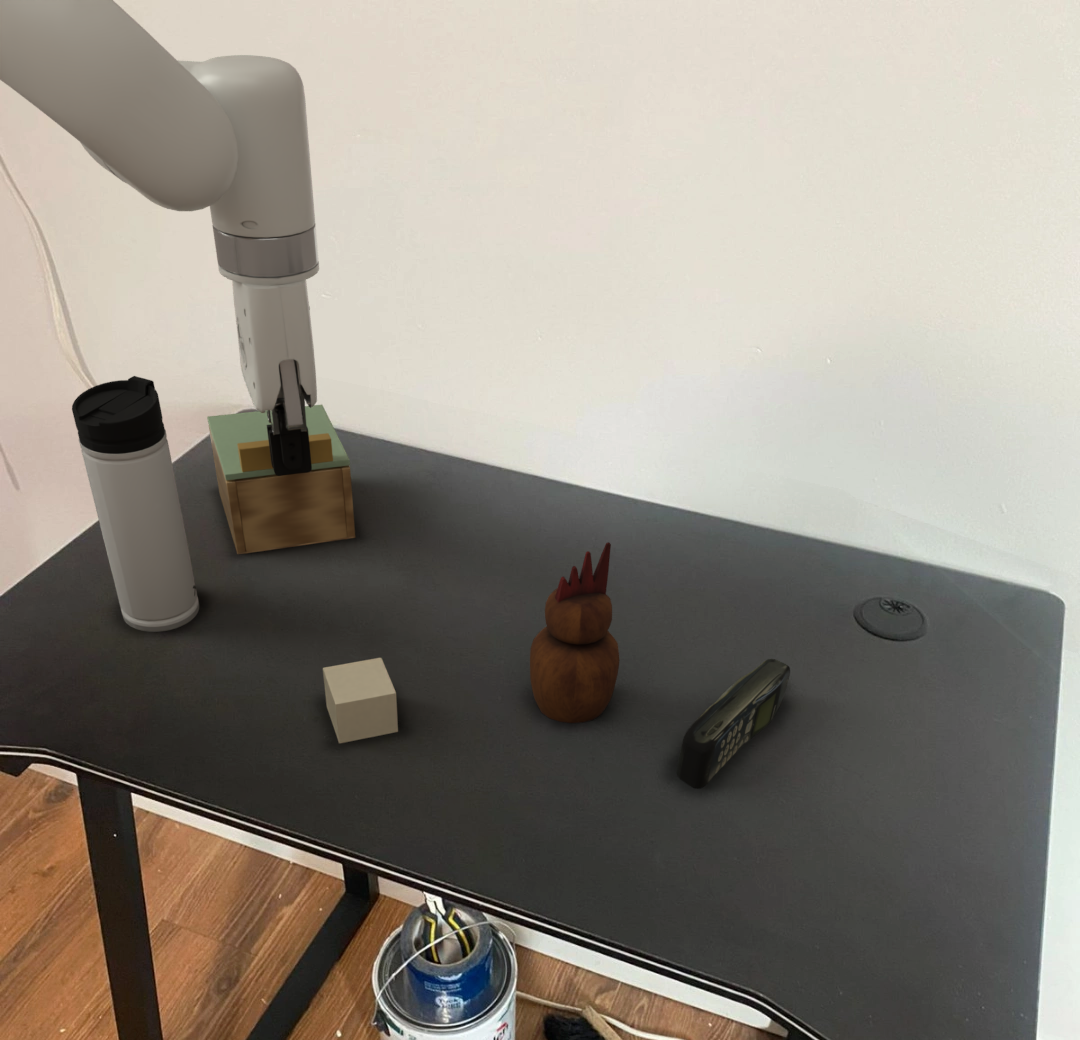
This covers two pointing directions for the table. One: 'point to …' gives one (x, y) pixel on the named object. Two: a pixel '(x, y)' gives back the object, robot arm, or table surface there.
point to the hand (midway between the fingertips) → (292, 469)
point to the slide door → (248, 443)
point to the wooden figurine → (576, 647)
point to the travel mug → (137, 502)
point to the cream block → (360, 700)
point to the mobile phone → (732, 722)
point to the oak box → (287, 508)
